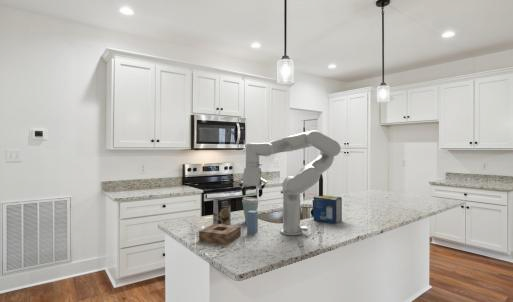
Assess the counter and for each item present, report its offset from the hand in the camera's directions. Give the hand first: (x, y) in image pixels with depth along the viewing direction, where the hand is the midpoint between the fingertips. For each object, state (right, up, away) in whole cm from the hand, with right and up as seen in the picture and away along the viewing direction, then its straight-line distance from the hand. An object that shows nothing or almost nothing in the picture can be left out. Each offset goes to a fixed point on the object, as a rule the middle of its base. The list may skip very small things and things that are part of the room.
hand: (252, 195), depth 162 cm
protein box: (+49, -21, +28) cm, 60 cm away
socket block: (-16, -21, -9) cm, 28 cm away
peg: (0, -21, 0) cm, 21 cm away
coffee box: (-19, -21, +17) cm, 33 cm away
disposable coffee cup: (-2, -21, +26) cm, 33 cm away
